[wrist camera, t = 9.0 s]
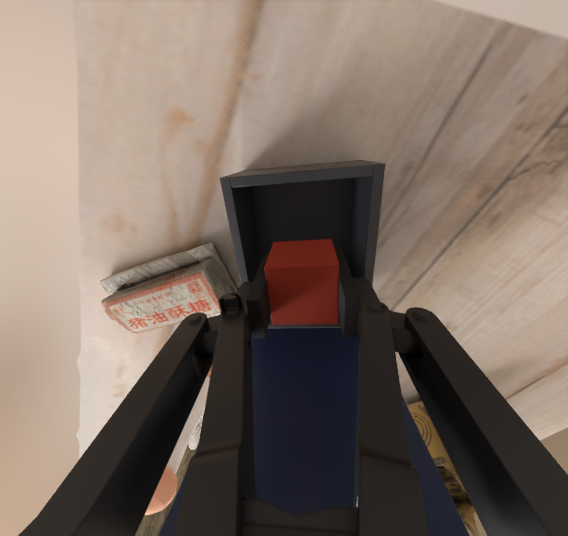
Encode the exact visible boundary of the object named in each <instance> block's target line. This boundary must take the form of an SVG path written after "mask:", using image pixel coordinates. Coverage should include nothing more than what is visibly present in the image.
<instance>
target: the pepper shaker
mask: <svg viewBox="0 0 568 536" xmlns="http://www.w3.org/2000/svg"><path fill="white" fill-rule="evenodd" d="M211 369H212V366H211V368H210V370H209V373H208V375H207V377H206V379H205V382H204V384H203V386H202V388H201V390H200V393H199V395H198V397H197V399H196V402H195V404H194V406H193V408H192V410H191V413H190V415H189V417H188V419H187V422H186V424H185V426H184V428H183V430H182V433H181V435H180V437H179V439H178V442H177V444H176V446H175V448H174V450H173V453H172V455H171V457H170V459H169V462H168V464H167V466H166V468H165V470H164V473H163V475H162V477H161V479H160V482H159V484H158V486H157V488H156V490H155V493H154V495H153V497H152V499H151V502H150V504H149V506H148V508H147V510H146V513H145V515H150V514H153V513H156V512H160V511H162V510H163V509H164V508H165V507H166V506H167V505H168V504H169V503H170V502H171V501H172V499H173V497H174V496H175V494H176V489H177V476H176V472H177V470H178V467H179V465H180V462H181V460H182V458H183V455H184V453H185V450H186V448H187V445H188V443H189V440H190V438H191V436H192V434H193V432H194V430H195V428H196V427H197V425H198V423H199V421H200V419H201V418H202V416H203V414H204V411H205V405H206V399H207V393H208V387H209V381H210V375H211Z"/></svg>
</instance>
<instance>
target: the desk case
mask: <svg viewBox="0 0 568 536" xmlns="http://www.w3.org/2000/svg"><path fill="white" fill-rule="evenodd" d="M384 170H385V164H384V163H378V162H371V161H364V160H356V161H345V162H334V163H323V164H312V165H301V166H290V167H279V168H268V169H257V170H246V171H241V172H238V173H235V174H231V175H228V176H225V177H222V178H220V181H221V186H222V191H223V196H224V201H225V206H226V211H227V216H228V221H229V226H230V231H231V236H232V241H233V246H234V251H235V256H236V261H237V266H238V271H239V276H240V280H241V284H243V283H244V282H253V281H254V279H255V276H256V274H257V271H258V269H259V266H260V264H261V261H262V259H263V256H264V253H265V252H270V251H271V248H272V245H273V242H284V241H303V240H322V239H331V240H332V243H333V246H334V249H342V252H343V254H344V257H345V259H346V262H347V264H348V267H349V270H350V272H351V275H352V277H353V278H358V277H365V278H366V279H367V280H369V281H370V283H371V285H372V282H373V273H374V263H375V254H376V245H377V235H378V226H379V217H380V207H381V198H382V189H383V179H384ZM331 327H341V324H340V319H339V315H338V324H290V325H273V324H272V320H271V316H270V321H269V326H268V328H331Z"/></svg>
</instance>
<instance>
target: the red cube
mask: <svg viewBox="0 0 568 536" xmlns="http://www.w3.org/2000/svg"><path fill="white" fill-rule="evenodd" d="M264 270H265V277H266V281H267V288H268V295H269V302H270V310H271V320H272V324H273V325H290V324H338V293H339V262H338V259H337V255H336V252H335V249H334V246H333V243H332V240H331V239H322V240H303V241H284V242H273V245H272V248H271V251H270V253H269V256H268V259H267V262H266V264H265V267H264Z"/></svg>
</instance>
